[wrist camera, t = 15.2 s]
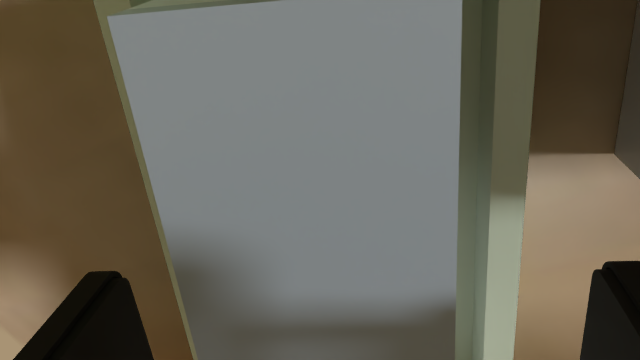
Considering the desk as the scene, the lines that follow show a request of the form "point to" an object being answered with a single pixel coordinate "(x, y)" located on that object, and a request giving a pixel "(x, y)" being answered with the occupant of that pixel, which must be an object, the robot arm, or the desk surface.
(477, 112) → the tray
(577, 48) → the desk surface
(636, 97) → the grey rectangular box
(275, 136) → the pale grey block
